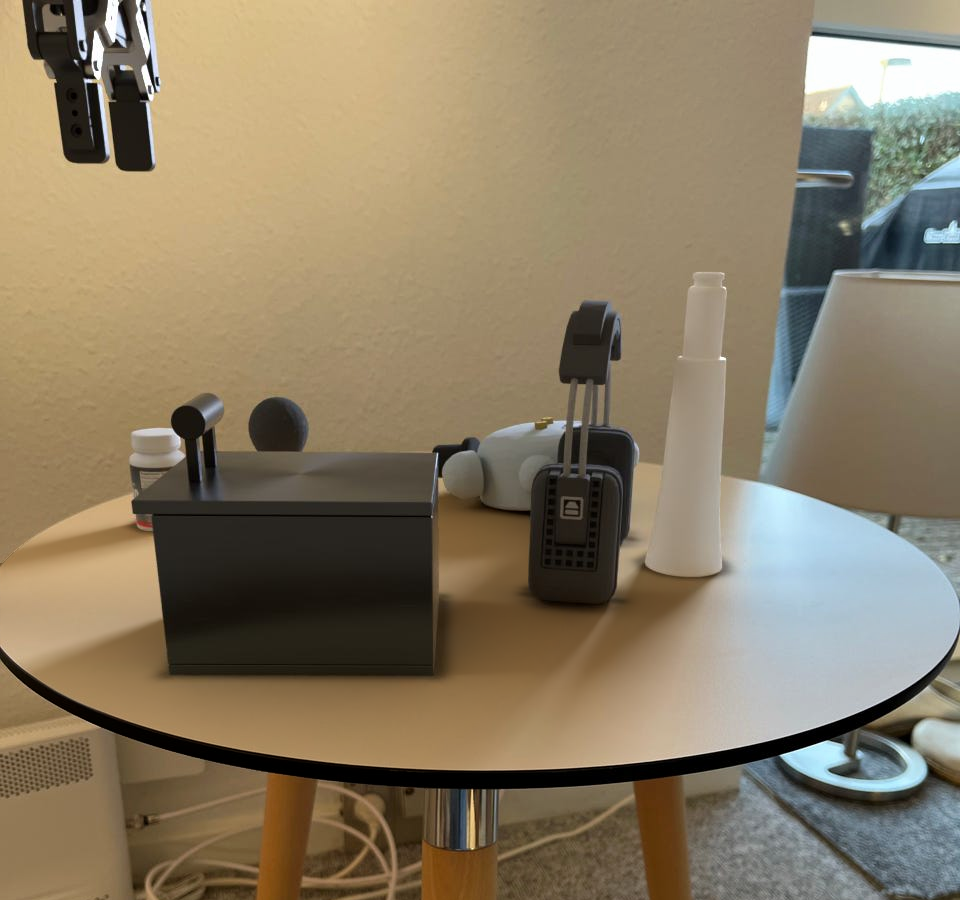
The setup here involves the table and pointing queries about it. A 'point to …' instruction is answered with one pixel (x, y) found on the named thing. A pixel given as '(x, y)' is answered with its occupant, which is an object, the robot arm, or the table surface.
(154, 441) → the pill bottle
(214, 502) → the dark grey box lid
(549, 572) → the headphones
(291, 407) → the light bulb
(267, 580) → the dark grey open box
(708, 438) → the cosmetic bottle
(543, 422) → the figurine
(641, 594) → the table surface
